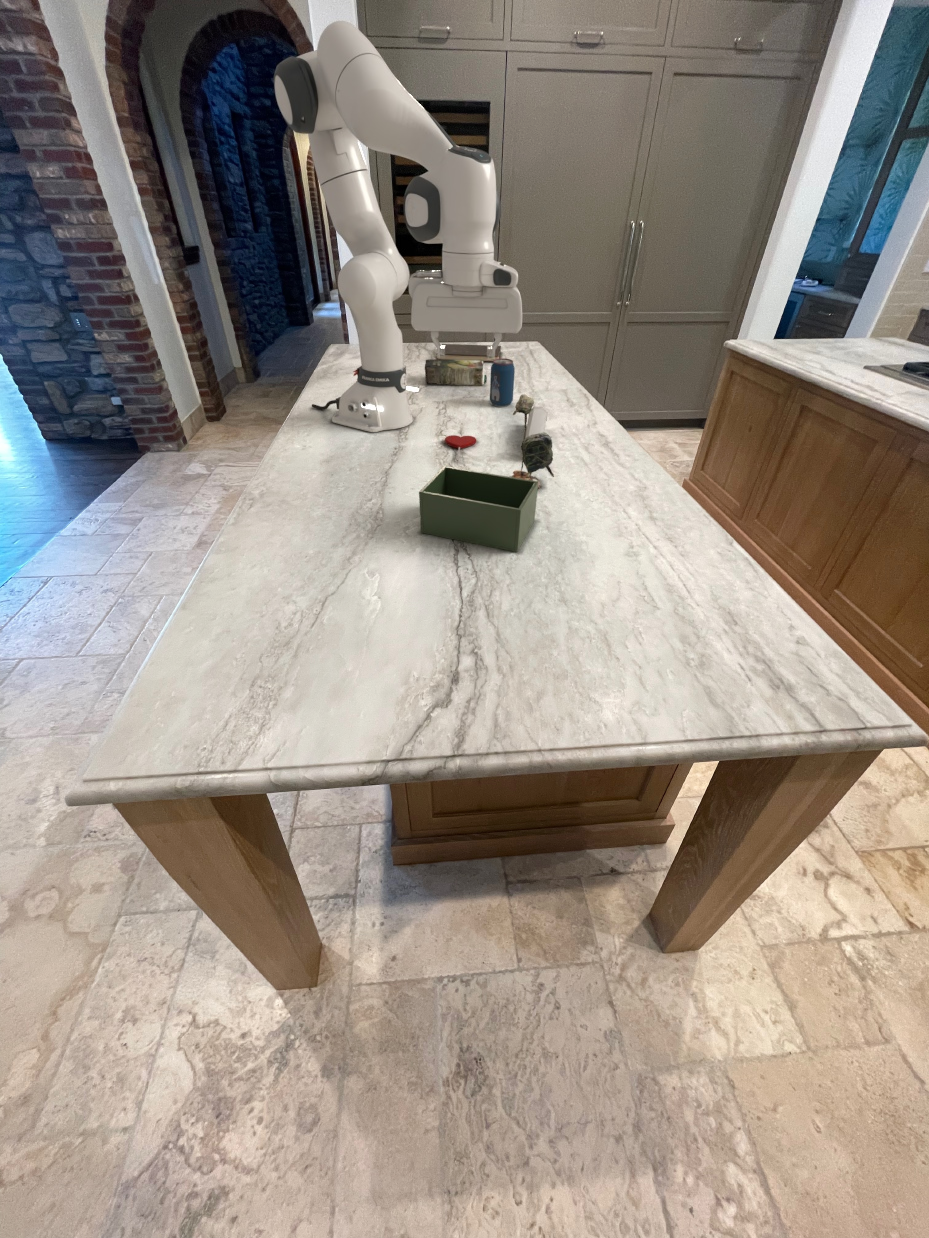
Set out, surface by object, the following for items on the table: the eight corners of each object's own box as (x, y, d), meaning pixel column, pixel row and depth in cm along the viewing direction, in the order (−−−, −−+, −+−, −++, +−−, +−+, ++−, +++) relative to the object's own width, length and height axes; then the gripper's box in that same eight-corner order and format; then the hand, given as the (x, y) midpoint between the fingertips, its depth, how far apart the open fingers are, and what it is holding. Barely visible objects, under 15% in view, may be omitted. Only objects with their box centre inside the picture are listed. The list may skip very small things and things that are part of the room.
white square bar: (546, 447, 125) (551, 410, 144) (525, 438, 125) (532, 403, 144) (536, 466, 129) (542, 428, 148) (516, 458, 128) (524, 421, 147)
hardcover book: (498, 362, 197) (498, 355, 196) (436, 360, 199) (436, 353, 197) (500, 351, 209) (500, 345, 208) (442, 349, 211) (442, 343, 210)
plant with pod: (551, 496, 115) (563, 400, 102) (498, 491, 116) (504, 396, 103) (553, 480, 121) (565, 387, 108) (504, 475, 122) (509, 383, 110)
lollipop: (474, 462, 127) (476, 439, 139) (474, 459, 127) (476, 435, 138) (440, 461, 128) (445, 438, 139) (440, 458, 127) (445, 434, 139)
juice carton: (485, 377, 182) (485, 357, 178) (486, 386, 175) (487, 366, 171) (426, 377, 182) (425, 358, 178) (425, 386, 175) (424, 366, 171)
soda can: (512, 400, 164) (515, 358, 156) (512, 408, 158) (514, 364, 151) (490, 399, 164) (491, 357, 156) (488, 407, 159) (490, 363, 151)
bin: (420, 532, 102) (418, 491, 97) (444, 504, 111) (444, 465, 106) (517, 552, 97) (520, 510, 92) (534, 521, 106) (538, 481, 101)
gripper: (406, 272, 90) (409, 360, 99) (527, 275, 91) (519, 363, 99) (409, 267, 95) (412, 352, 104) (524, 270, 95) (517, 354, 104)
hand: (465, 357), depth 102 cm, fingers open, 8 cm apart
